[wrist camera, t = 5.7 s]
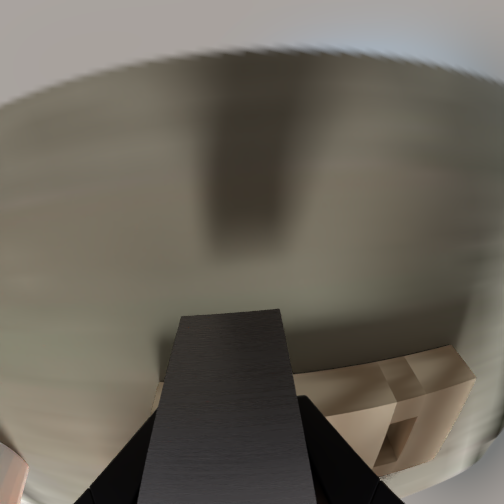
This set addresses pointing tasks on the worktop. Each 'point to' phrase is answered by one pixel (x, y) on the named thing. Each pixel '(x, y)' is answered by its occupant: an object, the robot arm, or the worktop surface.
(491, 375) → the worktop surface
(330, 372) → the socket block
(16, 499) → the white cylinder
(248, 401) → the square bit
